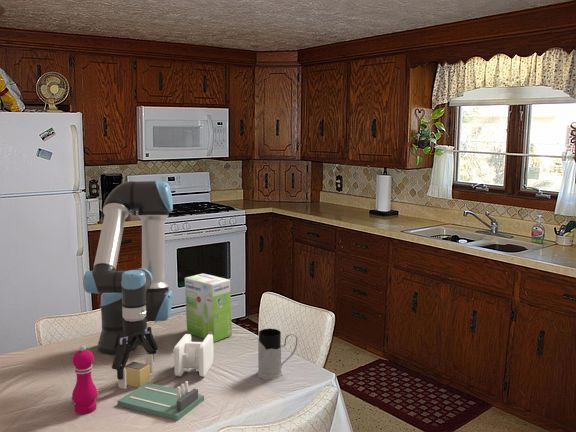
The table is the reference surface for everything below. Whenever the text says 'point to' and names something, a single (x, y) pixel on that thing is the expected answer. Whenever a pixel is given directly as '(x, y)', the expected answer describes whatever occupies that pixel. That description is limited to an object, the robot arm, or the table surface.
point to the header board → (162, 400)
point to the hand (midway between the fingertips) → (136, 379)
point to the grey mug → (270, 353)
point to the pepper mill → (84, 382)
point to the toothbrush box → (208, 306)
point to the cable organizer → (193, 355)
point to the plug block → (137, 374)
